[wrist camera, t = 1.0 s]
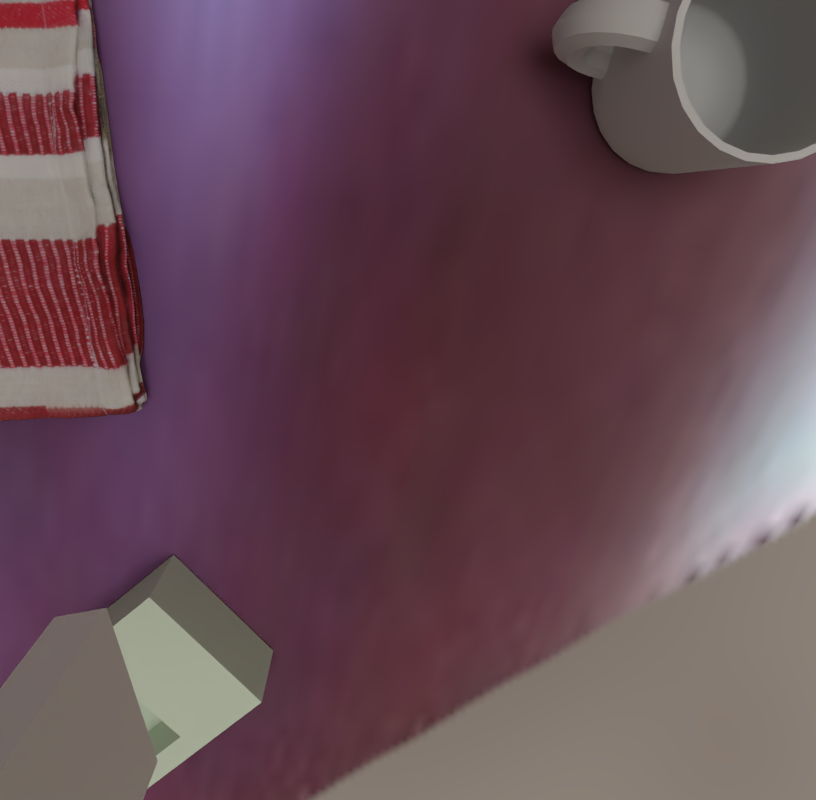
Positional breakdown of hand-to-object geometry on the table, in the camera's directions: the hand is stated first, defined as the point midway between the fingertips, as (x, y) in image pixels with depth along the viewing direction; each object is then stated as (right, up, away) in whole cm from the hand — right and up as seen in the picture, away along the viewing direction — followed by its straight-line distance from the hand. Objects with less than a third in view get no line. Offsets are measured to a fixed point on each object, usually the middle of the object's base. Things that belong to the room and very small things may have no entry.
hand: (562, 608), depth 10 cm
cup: (+8, +17, +20) cm, 28 cm away
